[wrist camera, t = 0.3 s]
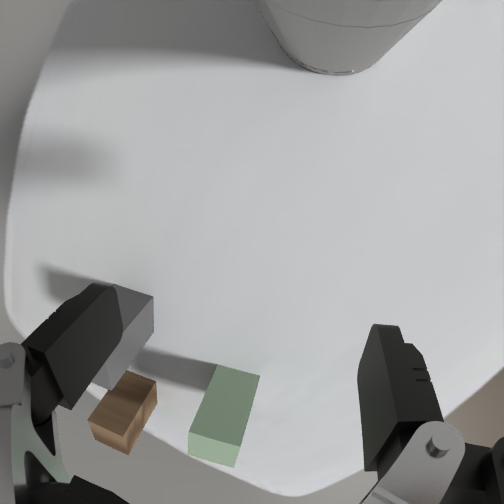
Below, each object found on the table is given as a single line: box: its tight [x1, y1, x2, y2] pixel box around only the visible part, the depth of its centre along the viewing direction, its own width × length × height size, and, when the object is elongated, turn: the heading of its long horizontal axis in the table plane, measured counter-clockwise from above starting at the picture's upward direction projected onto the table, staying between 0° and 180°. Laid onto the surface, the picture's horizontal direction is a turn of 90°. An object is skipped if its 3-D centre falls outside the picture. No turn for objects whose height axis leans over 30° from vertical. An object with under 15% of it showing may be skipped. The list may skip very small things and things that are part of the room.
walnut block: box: [88, 370, 157, 455], centre depth 36 cm, size 5×5×10 cm
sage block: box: [188, 365, 260, 468], centre depth 32 cm, size 5×5×10 cm
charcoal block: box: [91, 284, 154, 391], centre depth 30 cm, size 5×5×10 cm
